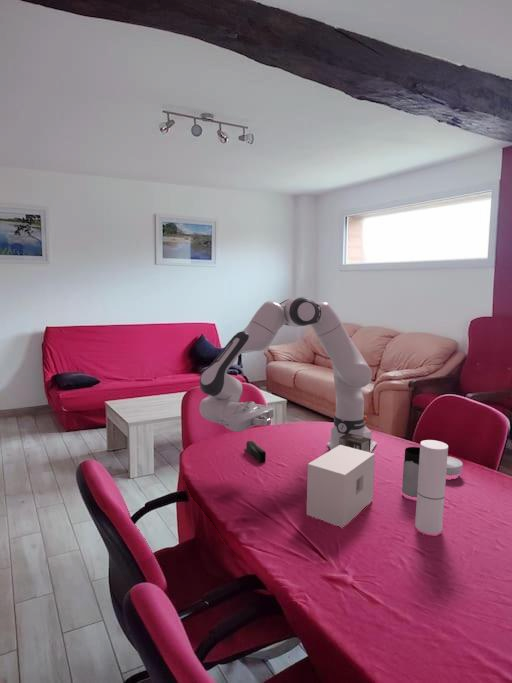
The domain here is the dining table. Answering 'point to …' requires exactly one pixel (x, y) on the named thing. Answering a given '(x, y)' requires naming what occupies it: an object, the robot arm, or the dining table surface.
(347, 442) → the coffee box
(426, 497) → the cylindrical container
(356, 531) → the dining table surface
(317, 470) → the box
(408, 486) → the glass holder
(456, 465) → the ramekin
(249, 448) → the mobile phone
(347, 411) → the robot arm
